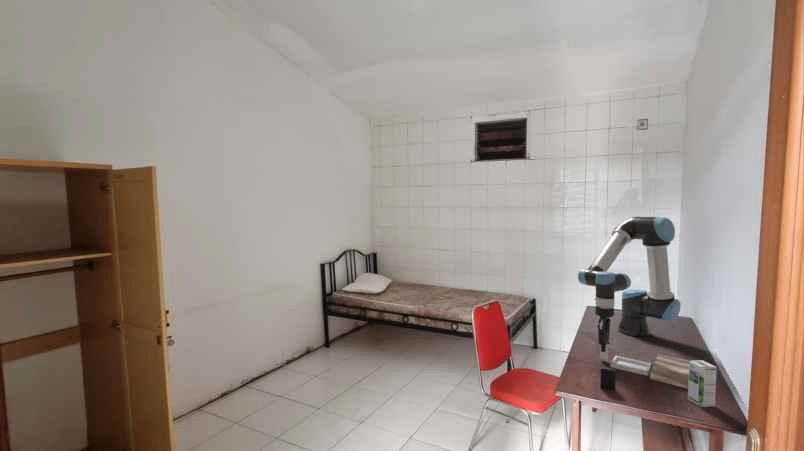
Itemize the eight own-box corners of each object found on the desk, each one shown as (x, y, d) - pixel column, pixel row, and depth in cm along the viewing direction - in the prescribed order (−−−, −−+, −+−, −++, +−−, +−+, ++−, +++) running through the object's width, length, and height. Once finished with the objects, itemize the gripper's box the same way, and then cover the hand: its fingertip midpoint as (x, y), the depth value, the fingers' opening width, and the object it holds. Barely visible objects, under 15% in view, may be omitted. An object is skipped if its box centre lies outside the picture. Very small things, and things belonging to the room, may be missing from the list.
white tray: (615, 360, 176) (615, 355, 176) (651, 369, 167) (652, 363, 167) (610, 368, 168) (610, 362, 168) (648, 377, 159) (648, 371, 159)
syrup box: (686, 399, 140) (688, 360, 139) (702, 398, 141) (703, 359, 140) (700, 407, 135) (701, 367, 134) (716, 406, 135) (717, 366, 134)
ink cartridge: (615, 389, 148) (616, 369, 148) (614, 391, 147) (615, 371, 146) (601, 385, 151) (602, 365, 151) (600, 387, 150) (601, 367, 149)
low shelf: (655, 366, 168) (656, 353, 168) (696, 375, 159) (696, 362, 159) (649, 379, 156) (650, 365, 156) (692, 389, 147) (693, 375, 147)
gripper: (599, 302, 180) (598, 351, 182) (591, 308, 171) (590, 360, 172) (617, 304, 176) (616, 355, 177) (610, 311, 166) (609, 364, 167)
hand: (603, 357), depth 174 cm, fingers closed
